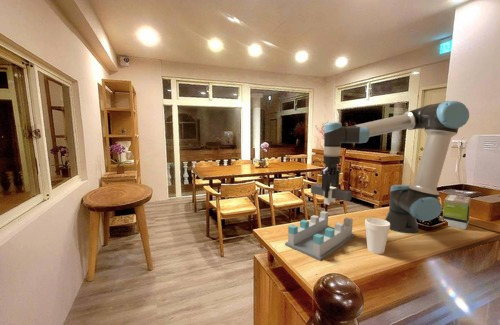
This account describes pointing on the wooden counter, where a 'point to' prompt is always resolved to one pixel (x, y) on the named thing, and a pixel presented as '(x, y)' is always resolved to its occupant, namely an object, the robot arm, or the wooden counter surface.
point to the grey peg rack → (319, 236)
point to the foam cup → (376, 234)
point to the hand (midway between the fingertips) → (329, 202)
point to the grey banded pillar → (332, 192)
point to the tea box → (457, 211)
